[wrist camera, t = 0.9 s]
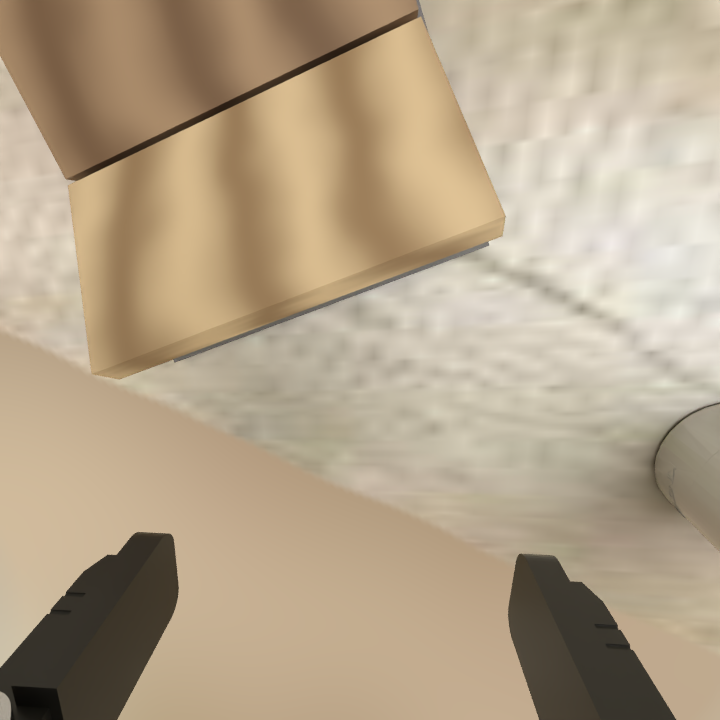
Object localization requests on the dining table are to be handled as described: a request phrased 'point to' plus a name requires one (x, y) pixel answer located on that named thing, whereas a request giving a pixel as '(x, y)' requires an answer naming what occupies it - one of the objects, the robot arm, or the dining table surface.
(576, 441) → the dining table surface
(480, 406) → the dining table surface
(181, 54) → the walnut plank
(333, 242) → the oak plank
